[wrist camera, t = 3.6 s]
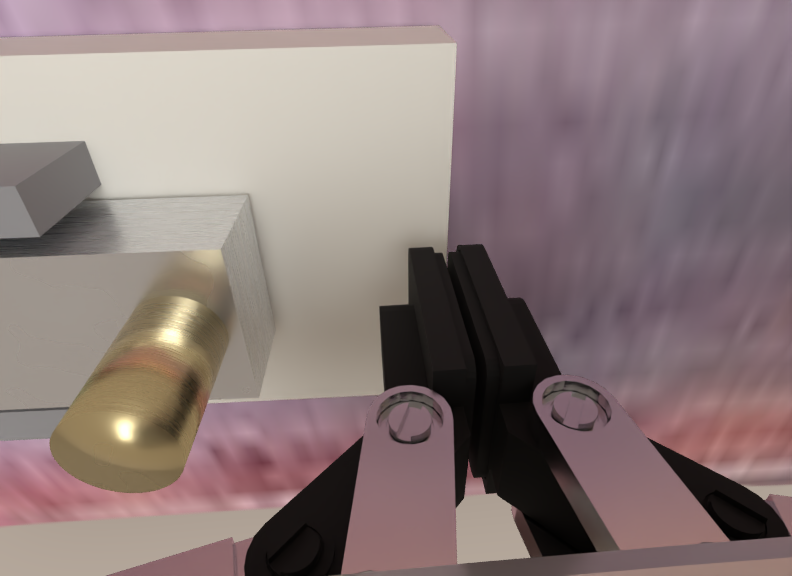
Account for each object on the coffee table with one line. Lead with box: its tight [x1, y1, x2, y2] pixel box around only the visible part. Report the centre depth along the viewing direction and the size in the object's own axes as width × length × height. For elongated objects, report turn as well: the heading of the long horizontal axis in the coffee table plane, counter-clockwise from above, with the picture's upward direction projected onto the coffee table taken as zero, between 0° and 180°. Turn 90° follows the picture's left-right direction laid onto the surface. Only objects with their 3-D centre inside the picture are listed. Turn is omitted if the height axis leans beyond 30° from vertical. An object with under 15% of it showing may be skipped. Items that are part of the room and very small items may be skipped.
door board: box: [0, 26, 457, 441], centre depth 13 cm, size 12×10×6 cm
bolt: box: [0, 195, 276, 493], centre depth 10 cm, size 7×4×6 cm, turn 91°
